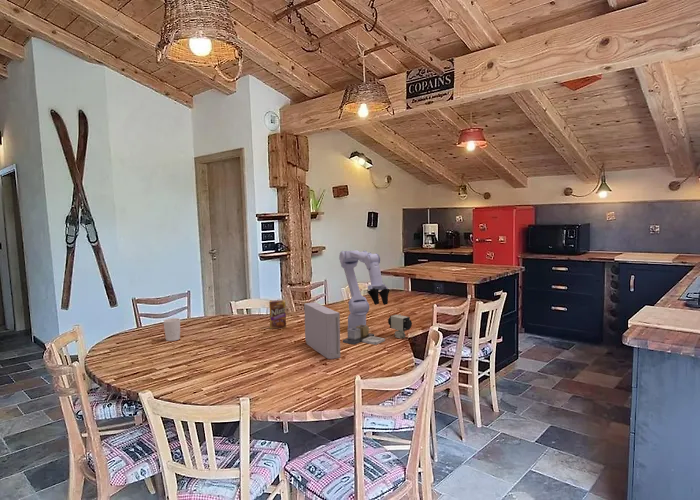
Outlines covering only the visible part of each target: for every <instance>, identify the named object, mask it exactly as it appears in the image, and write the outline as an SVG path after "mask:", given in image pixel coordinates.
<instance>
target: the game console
mask: <svg viewBox="0 0 700 500" xmlns="http://www.w3.org/2000/svg"><path fill="white" fill-rule="evenodd" d="M303 304H304V305H303V306H304V307H303V308H304V339H305V343H306V345H308V346H309V347H310V348H312V349H313V350H314V351H316V352H317V353H319V354H320V355H322V356H323V357H324V358H326V359H328V360H333V359H334V360H335V359H340V358H341V319H340V317H341V316H340V312H339V311H336V310H333V309H331V308H328V307H327V306H324V305H321V304H319V303H318V302H315V301H314V302H307V303H303Z"/></svg>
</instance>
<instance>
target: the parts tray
mask: <svg viewBox="0 0 700 500" xmlns="http://www.w3.org/2000/svg"><path fill="white" fill-rule="evenodd" d="M385 341H386V338H385V337H384V338H383V337H378V336H375V335H374V336H370V337H367V338H365V339H363V340H362V342H361V343H364V344H369V345H374V346H377V345H379V344H382V343H384V342H385Z"/></svg>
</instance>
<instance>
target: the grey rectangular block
mask: <svg viewBox="0 0 700 500" xmlns="http://www.w3.org/2000/svg"><path fill="white" fill-rule="evenodd" d="M347 329H348V328H347ZM346 331H347V338H348V340H352V341H357V340H359V339H361V334H360V329H358V328H351V329H348V330H346Z"/></svg>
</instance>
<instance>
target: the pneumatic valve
mask: <svg viewBox="0 0 700 500" xmlns="http://www.w3.org/2000/svg"><path fill="white" fill-rule="evenodd" d="M387 323H388V326H389V328H390V329H393V330H395V331H394V337H395V338H398V339H405V338H406V333H405V332H406V331H409V330H411V328H412V325H413V322H412V320H411V319H410V316H406V315H402V314H400V313H399V314H393V315H392V314H391V315H390V316H389V318H388V320H387Z"/></svg>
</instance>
